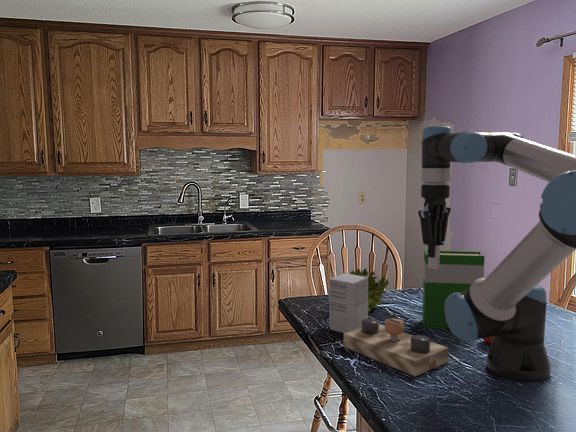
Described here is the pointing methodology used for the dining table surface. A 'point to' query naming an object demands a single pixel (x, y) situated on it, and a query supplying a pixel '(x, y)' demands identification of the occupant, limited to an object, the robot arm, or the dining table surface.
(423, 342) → the black knob near
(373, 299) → the green leafy plant
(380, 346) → the mount
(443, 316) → the hardback book
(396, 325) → the orange knob middle
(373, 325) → the black knob far
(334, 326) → the supplement box
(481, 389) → the dining table surface
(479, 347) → the dining table surface
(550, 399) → the dining table surface
